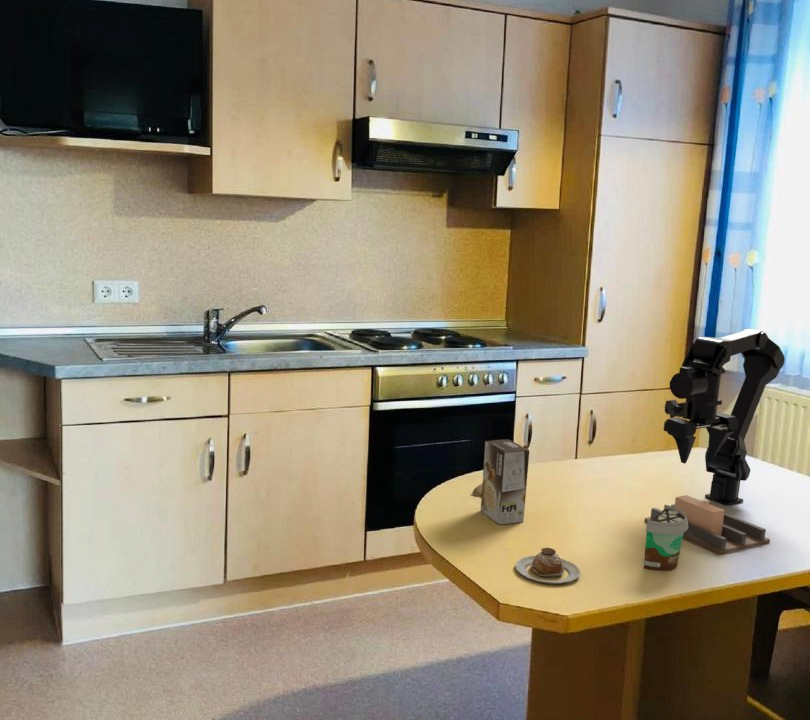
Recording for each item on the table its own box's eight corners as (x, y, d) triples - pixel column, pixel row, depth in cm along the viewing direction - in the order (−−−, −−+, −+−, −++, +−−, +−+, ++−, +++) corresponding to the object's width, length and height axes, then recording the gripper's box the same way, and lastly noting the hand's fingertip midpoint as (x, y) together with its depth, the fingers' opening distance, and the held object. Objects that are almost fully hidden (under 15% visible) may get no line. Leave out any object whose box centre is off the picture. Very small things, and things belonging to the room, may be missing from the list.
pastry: (572, 562, 170) (574, 539, 169) (586, 589, 158) (588, 565, 157) (510, 559, 170) (512, 537, 169) (520, 587, 158) (522, 562, 157)
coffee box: (525, 522, 189) (531, 450, 186) (498, 525, 186) (504, 452, 183) (503, 507, 197) (509, 438, 194) (478, 510, 194) (484, 440, 192)
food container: (673, 579, 164) (679, 528, 162) (641, 570, 167) (646, 520, 165) (690, 559, 174) (696, 510, 172) (659, 551, 177) (665, 503, 175)
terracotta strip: (683, 521, 193) (686, 495, 192) (721, 537, 185) (724, 510, 183) (672, 523, 191) (675, 497, 190) (709, 539, 183) (713, 512, 182)
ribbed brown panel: (694, 511, 202) (695, 499, 201) (769, 542, 185) (771, 529, 185) (644, 521, 194) (646, 508, 193) (718, 554, 177) (720, 540, 176)
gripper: (703, 383, 209) (696, 446, 212) (648, 389, 199) (641, 455, 202) (743, 393, 200) (735, 459, 203) (687, 400, 190) (679, 469, 193)
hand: (697, 460), depth 201 cm, fingers open, 9 cm apart
